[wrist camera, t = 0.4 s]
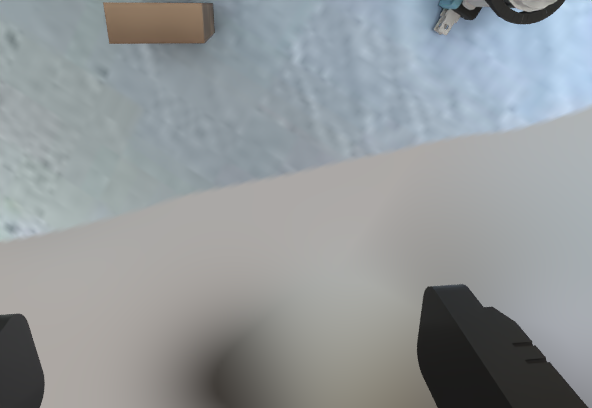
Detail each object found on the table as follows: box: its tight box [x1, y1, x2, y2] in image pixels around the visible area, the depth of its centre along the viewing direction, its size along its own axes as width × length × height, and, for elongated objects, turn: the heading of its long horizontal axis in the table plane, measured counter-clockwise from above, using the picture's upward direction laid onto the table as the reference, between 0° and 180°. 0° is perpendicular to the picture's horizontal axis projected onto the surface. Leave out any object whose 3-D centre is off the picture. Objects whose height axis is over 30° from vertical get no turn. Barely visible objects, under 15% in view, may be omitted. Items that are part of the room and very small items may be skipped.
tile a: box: [103, 3, 215, 44], centre depth 29 cm, size 2×5×10 cm, turn 90°
